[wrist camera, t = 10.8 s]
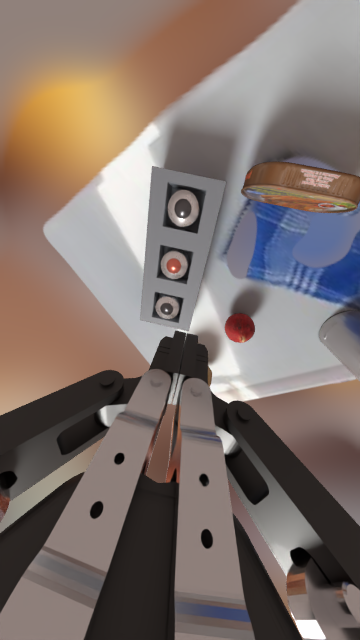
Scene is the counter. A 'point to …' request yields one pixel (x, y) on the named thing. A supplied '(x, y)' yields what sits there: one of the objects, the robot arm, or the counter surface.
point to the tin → (302, 187)
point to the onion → (239, 327)
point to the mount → (177, 243)
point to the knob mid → (175, 263)
